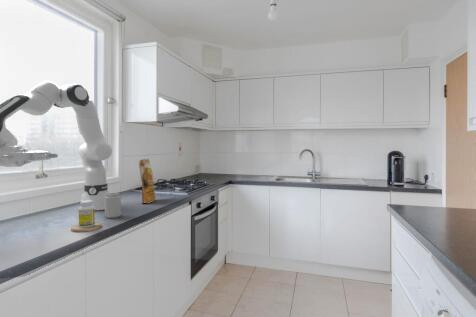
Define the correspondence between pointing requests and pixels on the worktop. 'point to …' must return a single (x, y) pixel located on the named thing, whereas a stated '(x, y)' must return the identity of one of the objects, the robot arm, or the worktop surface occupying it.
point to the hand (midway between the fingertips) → (51, 155)
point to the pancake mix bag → (146, 181)
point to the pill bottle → (86, 214)
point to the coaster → (79, 229)
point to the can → (112, 205)
